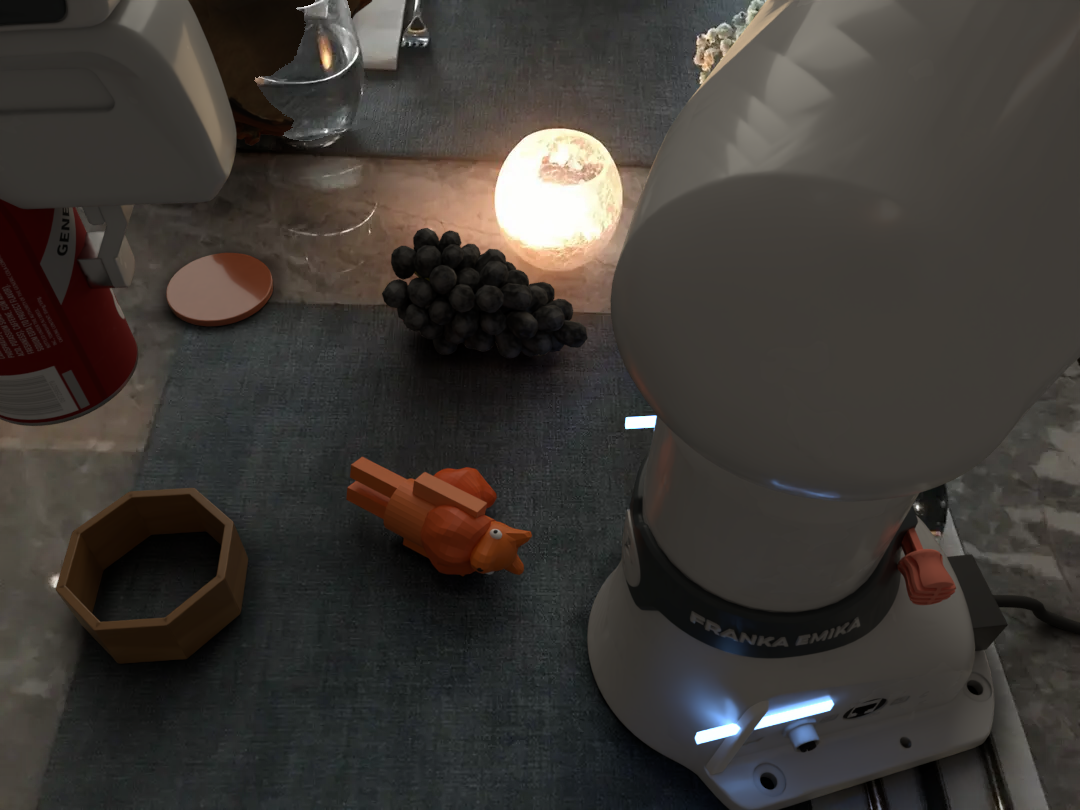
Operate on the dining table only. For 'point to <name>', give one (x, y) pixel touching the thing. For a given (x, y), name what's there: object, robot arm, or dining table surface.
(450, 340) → the fruit
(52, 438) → the dining table surface
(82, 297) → the soda can
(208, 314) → the coaster
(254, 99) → the sculpture
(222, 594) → the can holder
